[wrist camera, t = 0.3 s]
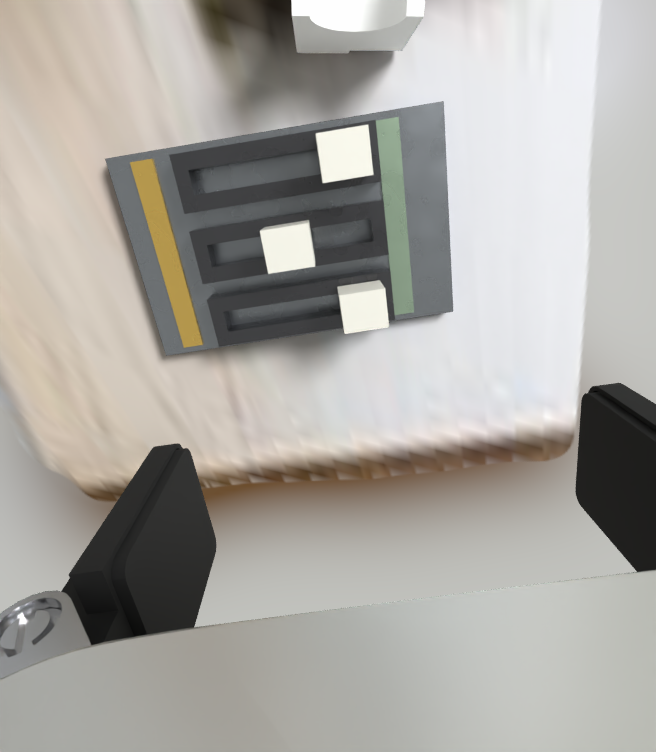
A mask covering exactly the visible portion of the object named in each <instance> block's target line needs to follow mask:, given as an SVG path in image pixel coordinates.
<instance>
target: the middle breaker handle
mask: <svg viewBox="0 0 656 752" xmlns="http://www.w3.org/2000/svg"><path fill="white" fill-rule="evenodd" d="M260 235H261V240H262V245H263V250H264V255H265V260H266V265H267V270H268V274H271V273H277V272H284V271H290V270H296V269H303V268H309V267H315V255H314V249H313V242H312V236H311V230H310V223H309V220H305V221H299V222H293V223H287V224H281V225H274V226H268V227H264V228H263V229H261V230H260Z"/></svg>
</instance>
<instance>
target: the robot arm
mask: <svg viewBox="0 0 656 752" xmlns="http://www.w3.org/2000/svg"><path fill="white" fill-rule="evenodd" d="M576 496H577V499H578V502H579V504H580V505H581V507H582V508H583V509H584V510H585V511H586V512H587V514H588V515H589V516H590V517H591V518H592V520H594V522H595V523H596V524H597V525H598V526H599V528H600V529H601V530H602V531H603V532H604V533H605V535H606V536H607V537H608V538H609V539H610V541H611V542H612V543H613V544H614V545H615V546H616V547H617V549H618V550H619V551H620V552H621V553H622V554H623V556H624V557H625V558H626V559H627V560H628V562H629V563H630V564H631V565H632V566H633V567H634V568H635V570H636V571H637V572H635V573H634V572H633V573H625V574H616V575H609V576H600V577H591V578H584V579H575V580H567V581H559V582H551V583H542V584H535V585H526V586H518V587H510V588H502V589H493V590H485V591H477V592H469V593H461V594H453V595H445V596H437V597H429V598H421V599H413V600H405V601H397V602H389V603H382V604H373V605H366V606H357V607H349V608H341V609H334V610H325V611H318V612H309V613H302V614H295V615H286V616H279V617H271V618H263V619H255V620H248V621H240V622H233V623H224V624H217V625H209V626H201V627H194V626H195V622H196V619H197V615H198V612H199V608H200V605H201V602H202V598H203V595H204V591H205V587H206V584H207V580H208V577H209V574H210V570H211V567H212V563H213V560H214V557H215V552H216V538H215V534H214V531H213V527H212V524H211V520H210V517H209V514H208V510H207V507H206V503H205V500H204V496H203V493H202V490H201V486H200V483H199V479H198V476H197V473H196V469H195V466H194V462H193V459H192V456H191V453H190V451H189V449H187V448H185V449H183V448H182V447H181V445H180V444H171V445H164V446H156V447H154V448H153V449H152V450H151V451H150V453H149V454H148V456H147V457H146V459H145V460H144V462H143V463H142V465H141V466H140V468H139V469H138V471H137V472H136V474H135V475H134V477H133V478H132V480H131V481H130V483H129V484H128V486H127V488H126V489H125V491H124V492H123V494H122V495H121V497H120V498H119V500H118V501H117V503H116V504H115V506H114V507H113V509H112V510H111V512H110V513H109V515H108V516H107V518H106V519H105V521H104V522H103V524H102V525H101V527H100V528H99V530H98V531H97V533H96V535H95V536H94V537H93V539H92V541H91V542H90V544H89V545H88V546H87V548H86V549H85V551H84V552H83V554H82V555H81V557H80V558H79V560H78V561H77V563H76V565H75V566H74V568H73V569H72V571H71V572H70V573H69V576H70V579H69V580H68V582H67V584H66V585H65V587H64V588H63V590H62V591H61V592H60V591H45V592H42V593H38V594H35V595H31V596H29V597H27V598H25V599H23V600H21V601H18V602H17V603H15V604H14V605H12V606H10V607H9V608H7V609H6V610H4V611H3V612H2V613H1V614H0V752H656V404H654V403H653V402H651V401H650V400H648V399H646V398H645V397H643V396H641V395H640V394H638V393H636V392H635V391H633V390H631V389H630V388H628V387H626V386H625V385H623V384H621V383H615V384H608V385H600V386H593V387H592V388H590V390H589V392H588V393H587V394H584V395H583V397H582V403H581V418H580V432H579V447H578V461H577V476H576Z"/></svg>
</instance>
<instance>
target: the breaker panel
mask: <svg viewBox="0 0 656 752" xmlns="http://www.w3.org/2000/svg"><path fill="white" fill-rule="evenodd" d="M362 125H368V127H369V136H370V146H371V156H372V165H373V175H370V176H365V177H359V178H352V179H346V180H340V181H334V182H328V183H322V178H321V171H320V165H319V158H318V151H317V144H316V133H321V132H327V131H333V130H338V129H344V128H350V127H356V126H362ZM105 160H106V163H107V166H108V169H109V173H110V176H111V179H112V182H113V186H114V189H115V192H116V195H117V198H118V202H119V205H120V208H121V211H122V215H123V218H124V221H125V224H126V227H127V231H128V234H129V237H130V240H131V244H132V247H133V250H134V253H135V256H136V260H137V263H138V266H139V269H140V273H141V276H142V279H143V282H144V285H145V289H146V292H147V295H148V298H149V302H150V305H151V308H152V311H153V314H154V318H155V321H156V324H157V327H158V330H159V334H160V337H161V340H162V343H163V347H164V350H165V353H166V356H167V355H173V354H180V353H186V352H193V351H199V350H206V349H212V348H219V347H225V346H232V345H238V344H245V343H251V342H258V341H264V340H271V339H278V338H284V337H291V336H297V335H304V334H310V333H317V332H323V331H330V330H336V329H343V323H342V317H341V310H340V303H339V296H338V289H337V287H338V286H345V285H351V284H358V283H364V282H370V281H377V280H380V281H381V283H382V284H383V286H384V287H385V291H386V301H387V311H388V320H389V321H395V320H401V319H408V318H414V317H421V316H427V315H434V314H440V313H447V312H453V297H452V275H451V253H450V231H449V209H448V187H447V165H446V143H445V121H444V101H442V102H436V103H430V104H424V105H419V106H413V107H407V108H401V109H395V110H389V111H383V112H377V113H372V114H366V115H360V116H354V117H348V118H342V119H336V120H330V121H325V122H319V123H313V124H307V125H301V126H295V127H289V128H283V129H278V130H272V131H266V132H260V133H254V134H248V135H242V136H236V137H231V138H225V139H219V140H213V141H207V142H201V143H195V144H190V145H184V146H178V147H172V148H166V149H160V150H154V151H148V152H143V153H137V154H131V155H125V156H119V157H113V158H107V159H105ZM305 220H309V223H310V230H311V236H312V242H313V249H314V255H315V267H309V268H303V269H296V270H290V271H284V272H277V273H271V274H268V270H267V265H266V260H265V255H264V250H263V245H262V240H261V235H260V230H261V229H263V228H264V227H268V226H274V225H281V224H287V223H293V222H299V221H305Z"/></svg>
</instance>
